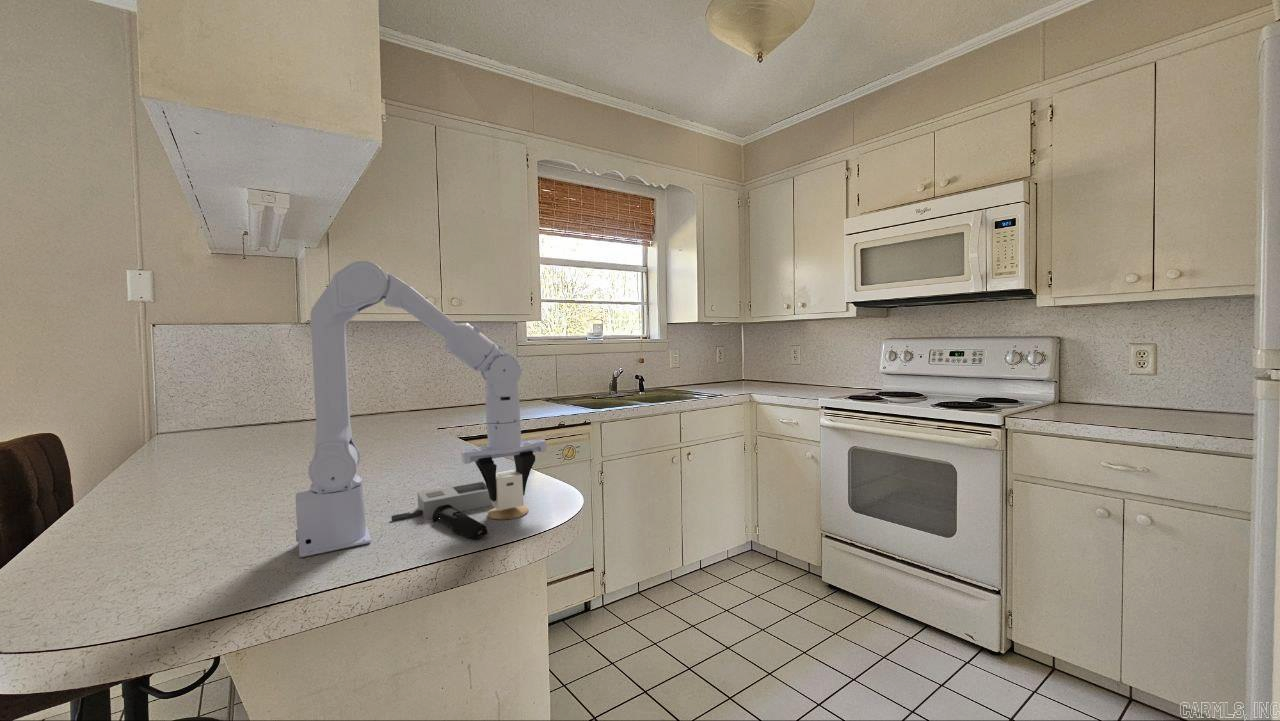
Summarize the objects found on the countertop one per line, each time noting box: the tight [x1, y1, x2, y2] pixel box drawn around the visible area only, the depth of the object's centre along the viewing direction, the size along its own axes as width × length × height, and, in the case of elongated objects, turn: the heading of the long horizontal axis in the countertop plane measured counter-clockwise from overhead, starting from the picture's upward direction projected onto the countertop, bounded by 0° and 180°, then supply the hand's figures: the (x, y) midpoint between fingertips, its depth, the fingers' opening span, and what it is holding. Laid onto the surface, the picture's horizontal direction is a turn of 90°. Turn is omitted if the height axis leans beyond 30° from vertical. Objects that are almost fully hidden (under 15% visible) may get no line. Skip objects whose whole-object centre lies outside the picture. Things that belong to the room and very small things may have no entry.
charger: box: [491, 469, 525, 511], centre depth 96 cm, size 4×5×6 cm
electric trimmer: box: [431, 504, 489, 539], centre depth 89 cm, size 4×16×3 cm, turn 43°
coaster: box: [487, 504, 529, 521], centre depth 96 cm, size 7×7×1 cm
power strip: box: [390, 480, 493, 522], centre depth 101 cm, size 21×7×4 cm, turn 121°
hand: (507, 496), depth 96 cm, fingers closed on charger, 4 cm apart
